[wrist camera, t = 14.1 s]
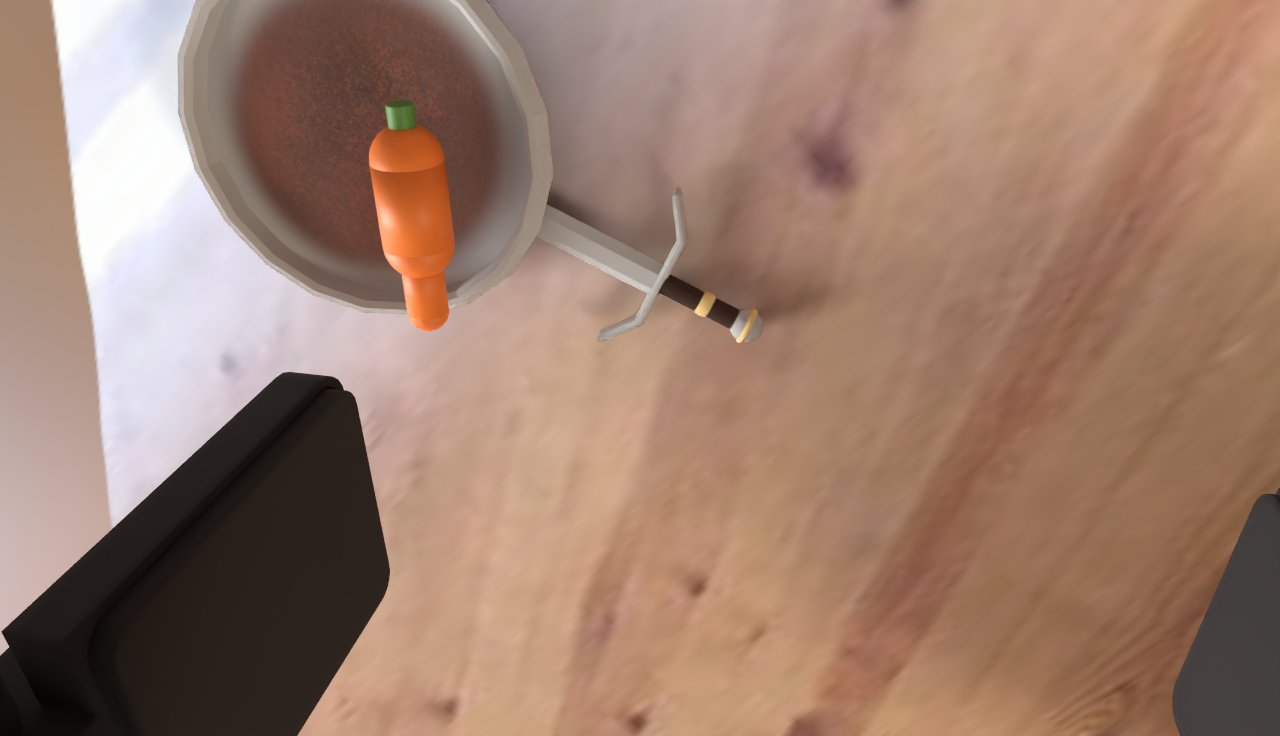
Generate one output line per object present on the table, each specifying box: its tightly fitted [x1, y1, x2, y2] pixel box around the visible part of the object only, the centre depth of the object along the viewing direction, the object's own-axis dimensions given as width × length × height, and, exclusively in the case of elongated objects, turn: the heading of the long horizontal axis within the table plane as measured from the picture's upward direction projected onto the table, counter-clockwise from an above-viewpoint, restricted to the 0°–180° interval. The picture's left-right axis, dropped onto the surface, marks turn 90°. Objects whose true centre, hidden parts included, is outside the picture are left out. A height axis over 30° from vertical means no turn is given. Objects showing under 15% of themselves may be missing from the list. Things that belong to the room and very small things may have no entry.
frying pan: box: [178, 0, 763, 343], centre depth 39 cm, size 17×3×28 cm
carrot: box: [369, 100, 455, 331], centre depth 37 cm, size 10×3×3 cm
